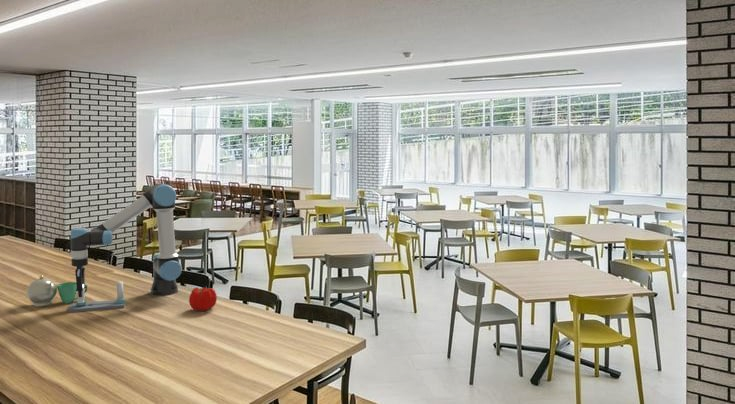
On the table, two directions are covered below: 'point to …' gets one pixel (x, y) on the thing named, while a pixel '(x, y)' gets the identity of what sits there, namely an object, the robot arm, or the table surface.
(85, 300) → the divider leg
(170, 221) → the robot arm
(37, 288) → the teapot
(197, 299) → the tomato
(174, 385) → the table surface
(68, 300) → the mug
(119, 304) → the grey and teal piece
